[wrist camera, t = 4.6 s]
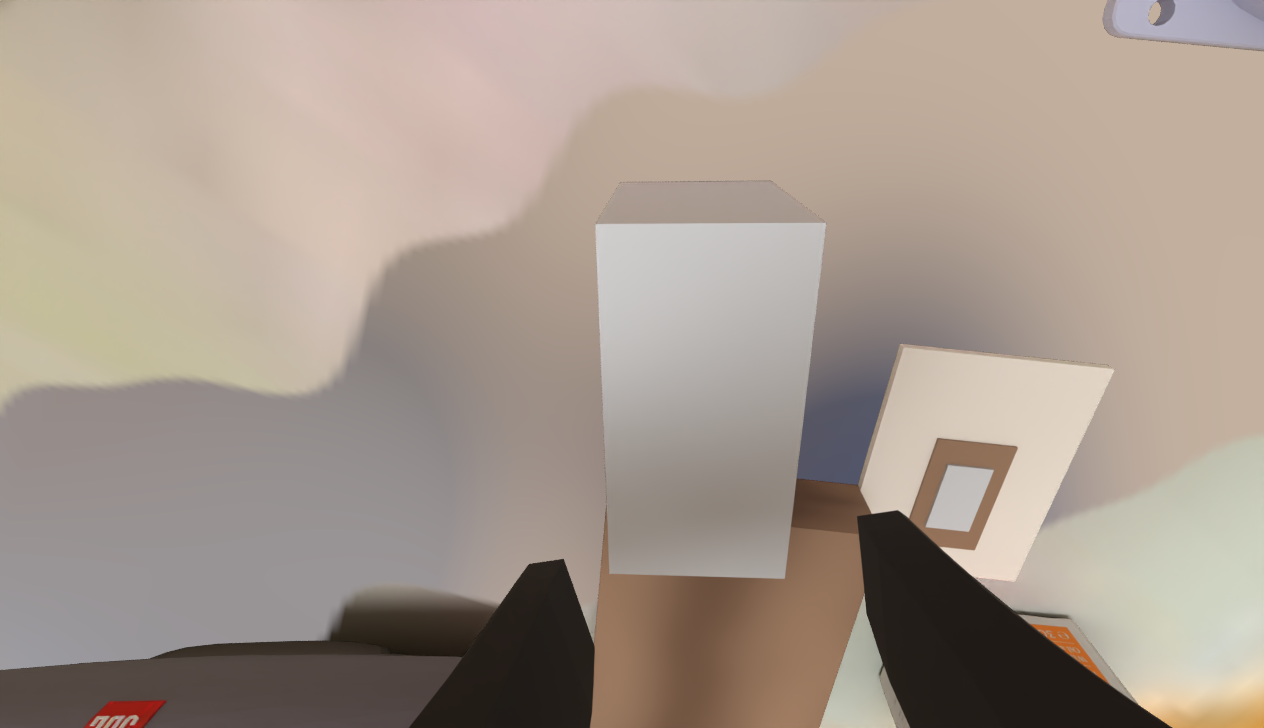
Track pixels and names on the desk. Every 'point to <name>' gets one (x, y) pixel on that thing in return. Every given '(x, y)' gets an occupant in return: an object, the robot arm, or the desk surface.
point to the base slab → (734, 631)
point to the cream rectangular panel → (978, 448)
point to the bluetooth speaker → (230, 688)
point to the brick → (704, 372)
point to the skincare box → (1060, 634)
